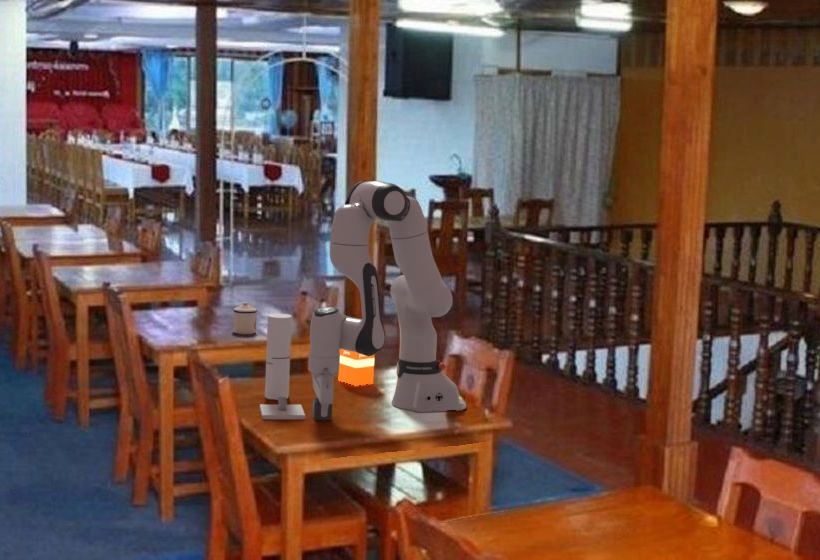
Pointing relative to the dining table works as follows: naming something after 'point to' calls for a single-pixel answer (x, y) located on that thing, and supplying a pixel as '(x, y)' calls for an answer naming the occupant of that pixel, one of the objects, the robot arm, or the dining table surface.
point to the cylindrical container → (278, 356)
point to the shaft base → (282, 410)
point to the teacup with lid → (245, 319)
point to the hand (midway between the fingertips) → (322, 412)
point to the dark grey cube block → (317, 411)
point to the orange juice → (356, 368)
